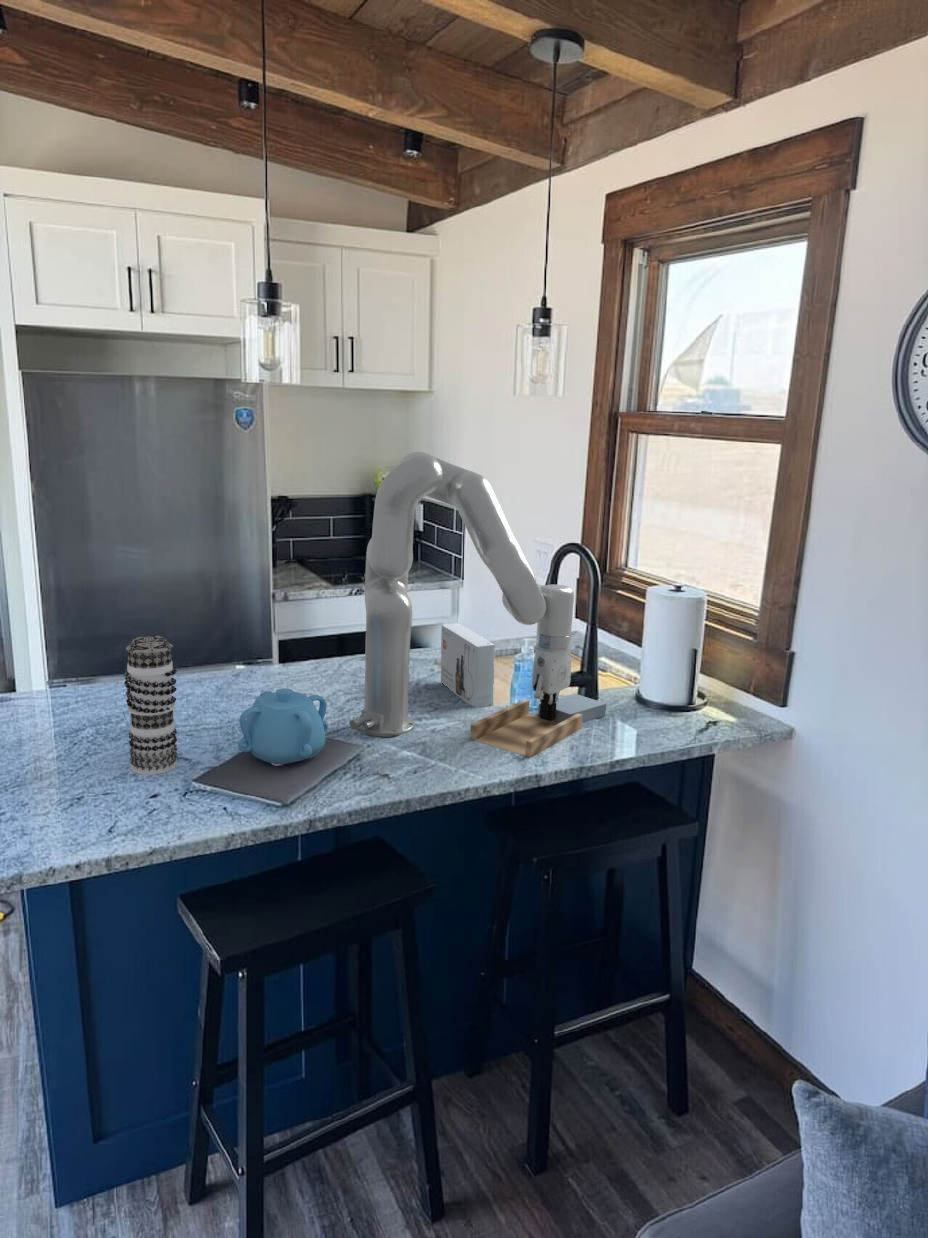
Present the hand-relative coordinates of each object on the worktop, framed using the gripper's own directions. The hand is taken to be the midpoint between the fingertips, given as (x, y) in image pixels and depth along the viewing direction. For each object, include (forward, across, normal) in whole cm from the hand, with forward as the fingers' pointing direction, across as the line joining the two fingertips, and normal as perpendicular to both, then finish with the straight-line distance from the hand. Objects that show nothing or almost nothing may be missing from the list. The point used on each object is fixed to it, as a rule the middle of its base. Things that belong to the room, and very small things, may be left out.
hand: (547, 718), depth 191 cm
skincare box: (+2, +4, +26) cm, 26 cm away
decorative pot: (+2, -51, +31) cm, 59 cm away
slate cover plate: (+1, +9, -2) cm, 9 cm away
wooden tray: (+2, -9, 0) cm, 9 cm away
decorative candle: (+2, -71, +45) cm, 84 cm away
